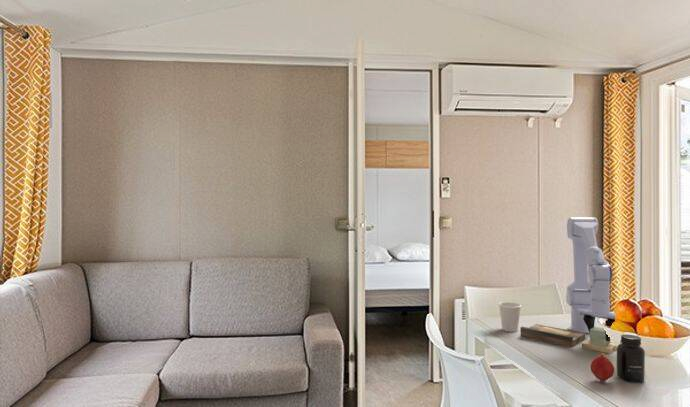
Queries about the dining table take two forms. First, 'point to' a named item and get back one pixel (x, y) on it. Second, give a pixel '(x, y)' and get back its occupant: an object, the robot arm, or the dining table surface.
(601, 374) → the onion
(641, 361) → the supplement bottle
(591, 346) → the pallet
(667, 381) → the dining table surface
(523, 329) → the dock
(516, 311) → the dixie cup
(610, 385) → the dining table surface
